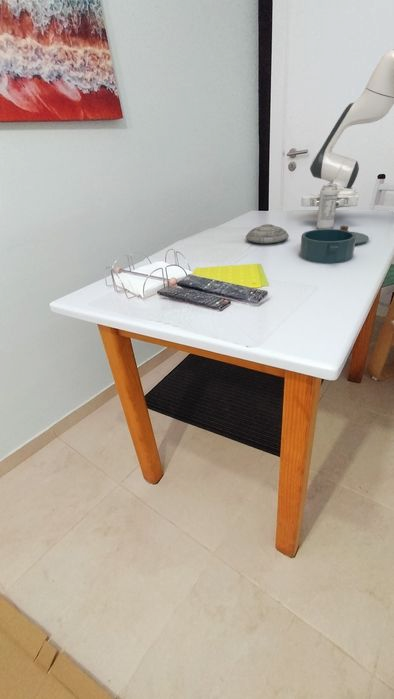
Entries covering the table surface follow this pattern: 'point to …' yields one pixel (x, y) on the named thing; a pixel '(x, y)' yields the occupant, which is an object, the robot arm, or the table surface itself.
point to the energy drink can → (327, 206)
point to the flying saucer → (267, 234)
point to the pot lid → (357, 235)
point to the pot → (327, 245)
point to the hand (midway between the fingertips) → (327, 203)
